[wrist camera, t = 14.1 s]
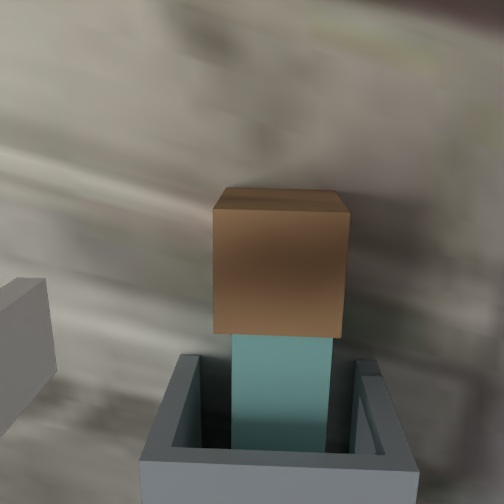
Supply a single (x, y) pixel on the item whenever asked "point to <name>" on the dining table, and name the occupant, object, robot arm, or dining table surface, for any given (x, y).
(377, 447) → the tunnel
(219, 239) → the walnut block
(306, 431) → the teal rod
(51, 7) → the dining table surface
